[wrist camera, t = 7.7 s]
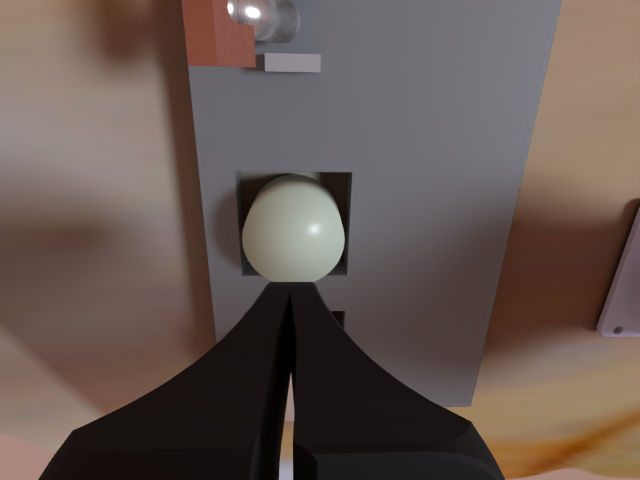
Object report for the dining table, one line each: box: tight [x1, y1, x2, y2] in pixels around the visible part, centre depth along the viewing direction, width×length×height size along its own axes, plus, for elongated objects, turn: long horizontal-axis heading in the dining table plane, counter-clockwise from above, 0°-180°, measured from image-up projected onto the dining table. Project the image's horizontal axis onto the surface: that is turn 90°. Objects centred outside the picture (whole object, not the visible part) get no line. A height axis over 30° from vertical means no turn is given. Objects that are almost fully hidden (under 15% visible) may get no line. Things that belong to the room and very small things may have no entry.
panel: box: [181, 0, 562, 407], centre depth 18 cm, size 14×24×2 cm, turn 179°
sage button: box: [242, 175, 345, 282], centre depth 17 cm, size 4×4×3 cm
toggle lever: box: [182, 0, 301, 67], centre depth 12 cm, size 1×3×4 cm
